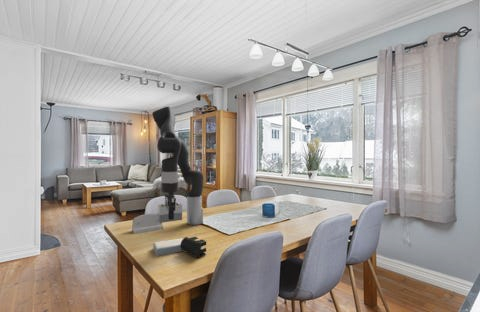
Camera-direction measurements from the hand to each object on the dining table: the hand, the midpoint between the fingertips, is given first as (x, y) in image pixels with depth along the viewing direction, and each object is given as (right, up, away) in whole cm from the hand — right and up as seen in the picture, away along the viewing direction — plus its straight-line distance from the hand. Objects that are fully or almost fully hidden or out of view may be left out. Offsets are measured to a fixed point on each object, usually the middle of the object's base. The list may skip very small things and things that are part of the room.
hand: (170, 217), depth 116 cm
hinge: (-21, -14, +30) cm, 40 cm away
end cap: (+12, -15, -5) cm, 20 cm away
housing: (0, -1, 0) cm, 1 cm away
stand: (0, -15, 0) cm, 15 cm away
